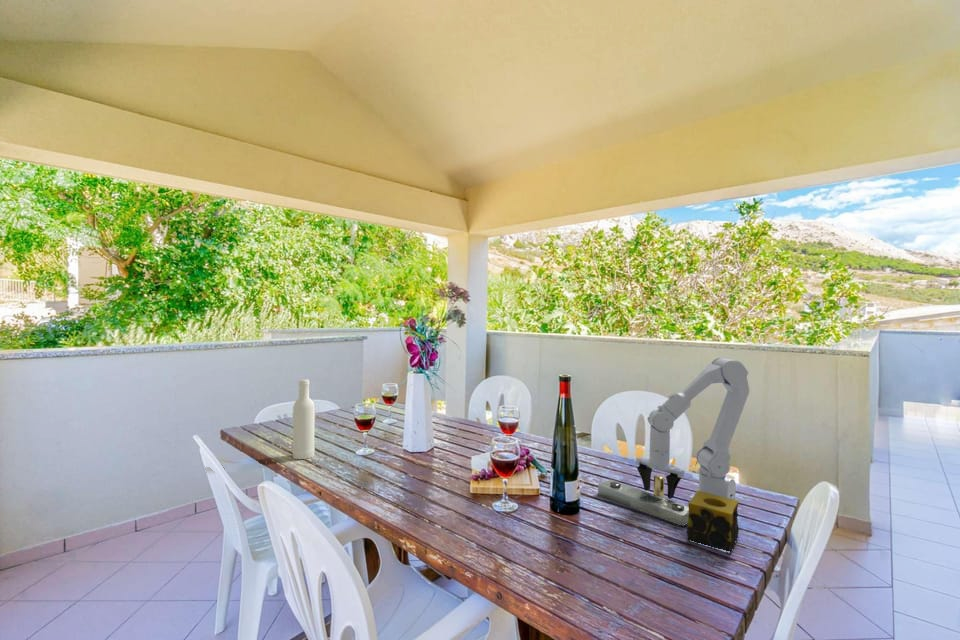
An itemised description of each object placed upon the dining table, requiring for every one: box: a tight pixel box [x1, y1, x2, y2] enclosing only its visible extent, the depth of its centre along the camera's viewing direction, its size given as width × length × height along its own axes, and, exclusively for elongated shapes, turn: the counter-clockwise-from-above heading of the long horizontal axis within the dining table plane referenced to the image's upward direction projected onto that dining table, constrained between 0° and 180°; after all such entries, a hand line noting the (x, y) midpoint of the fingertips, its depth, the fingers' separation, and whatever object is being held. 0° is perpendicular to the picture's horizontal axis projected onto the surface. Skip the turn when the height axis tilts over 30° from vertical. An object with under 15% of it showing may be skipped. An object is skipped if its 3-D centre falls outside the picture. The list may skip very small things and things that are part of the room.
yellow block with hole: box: [686, 489, 740, 552], centre depth 110 cm, size 10×10×10 cm
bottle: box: [292, 379, 316, 460], centre depth 170 cm, size 8×8×30 cm
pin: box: [653, 474, 665, 498], centre depth 134 cm, size 3×3×7 cm
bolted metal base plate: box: [597, 479, 689, 527], centre depth 130 cm, size 27×7×4 cm, turn 39°
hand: (658, 493), depth 134 cm, fingers open, 7 cm apart
